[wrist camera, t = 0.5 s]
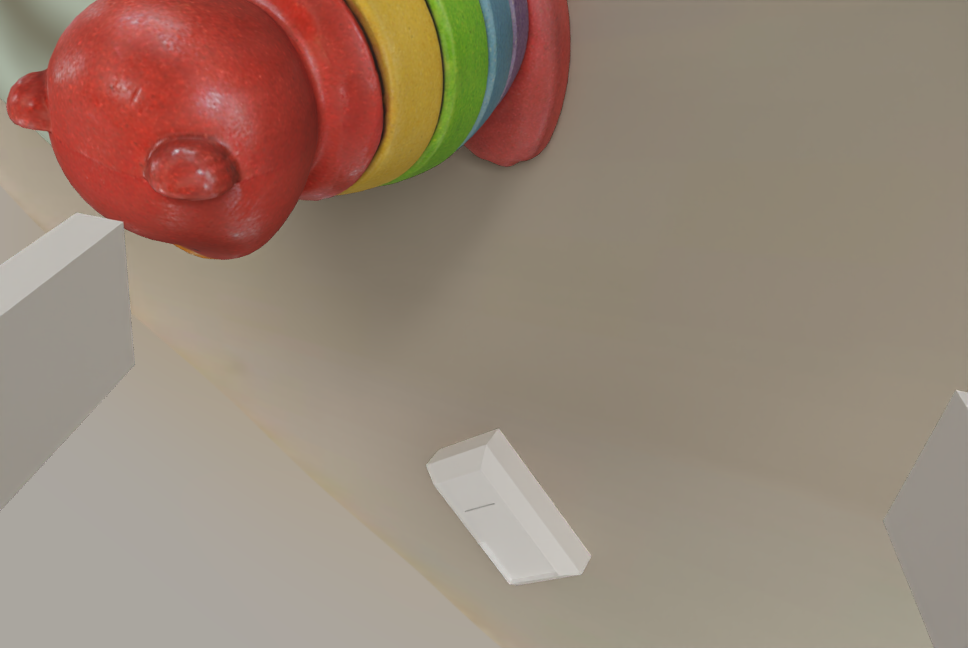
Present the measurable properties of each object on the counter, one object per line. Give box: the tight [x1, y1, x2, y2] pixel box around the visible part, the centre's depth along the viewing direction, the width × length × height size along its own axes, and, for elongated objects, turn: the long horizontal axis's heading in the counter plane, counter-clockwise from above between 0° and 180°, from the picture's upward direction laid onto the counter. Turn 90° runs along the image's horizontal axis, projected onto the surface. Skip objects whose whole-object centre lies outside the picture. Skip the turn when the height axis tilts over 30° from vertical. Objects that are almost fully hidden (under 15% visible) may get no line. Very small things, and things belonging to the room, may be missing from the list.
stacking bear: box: [6, 0, 570, 260], centre depth 26 cm, size 11×10×18 cm
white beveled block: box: [426, 428, 591, 586], centre depth 45 cm, size 5×9×3 cm, turn 41°
